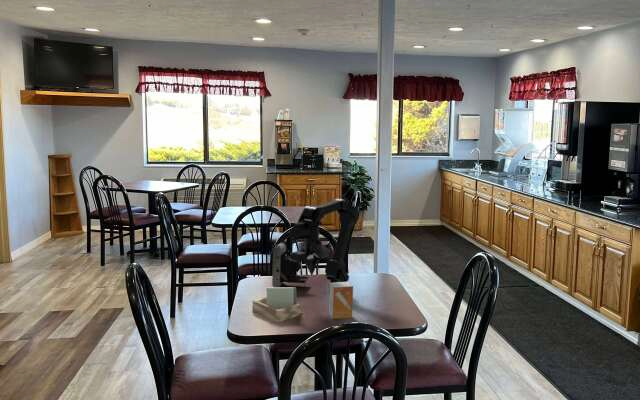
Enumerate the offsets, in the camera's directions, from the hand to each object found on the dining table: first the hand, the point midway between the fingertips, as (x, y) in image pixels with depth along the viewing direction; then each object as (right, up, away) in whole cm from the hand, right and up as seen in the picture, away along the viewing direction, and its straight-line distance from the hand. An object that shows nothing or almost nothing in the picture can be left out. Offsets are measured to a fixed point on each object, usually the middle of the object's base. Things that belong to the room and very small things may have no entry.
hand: (311, 273), depth 229 cm
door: (-12, -13, -10) cm, 21 cm away
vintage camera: (-10, -10, +25) cm, 28 cm away
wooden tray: (-14, -15, -9) cm, 22 cm away
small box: (+12, -15, -12) cm, 23 cm away
